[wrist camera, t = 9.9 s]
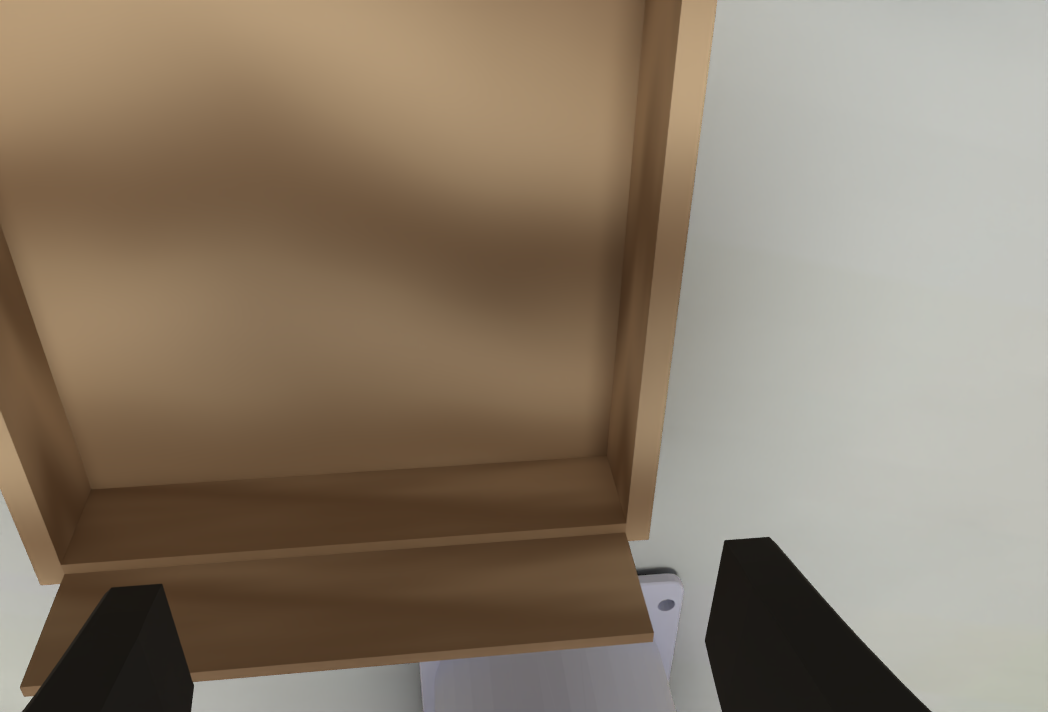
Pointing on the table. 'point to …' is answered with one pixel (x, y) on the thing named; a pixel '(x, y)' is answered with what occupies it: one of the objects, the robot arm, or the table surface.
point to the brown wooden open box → (343, 316)
